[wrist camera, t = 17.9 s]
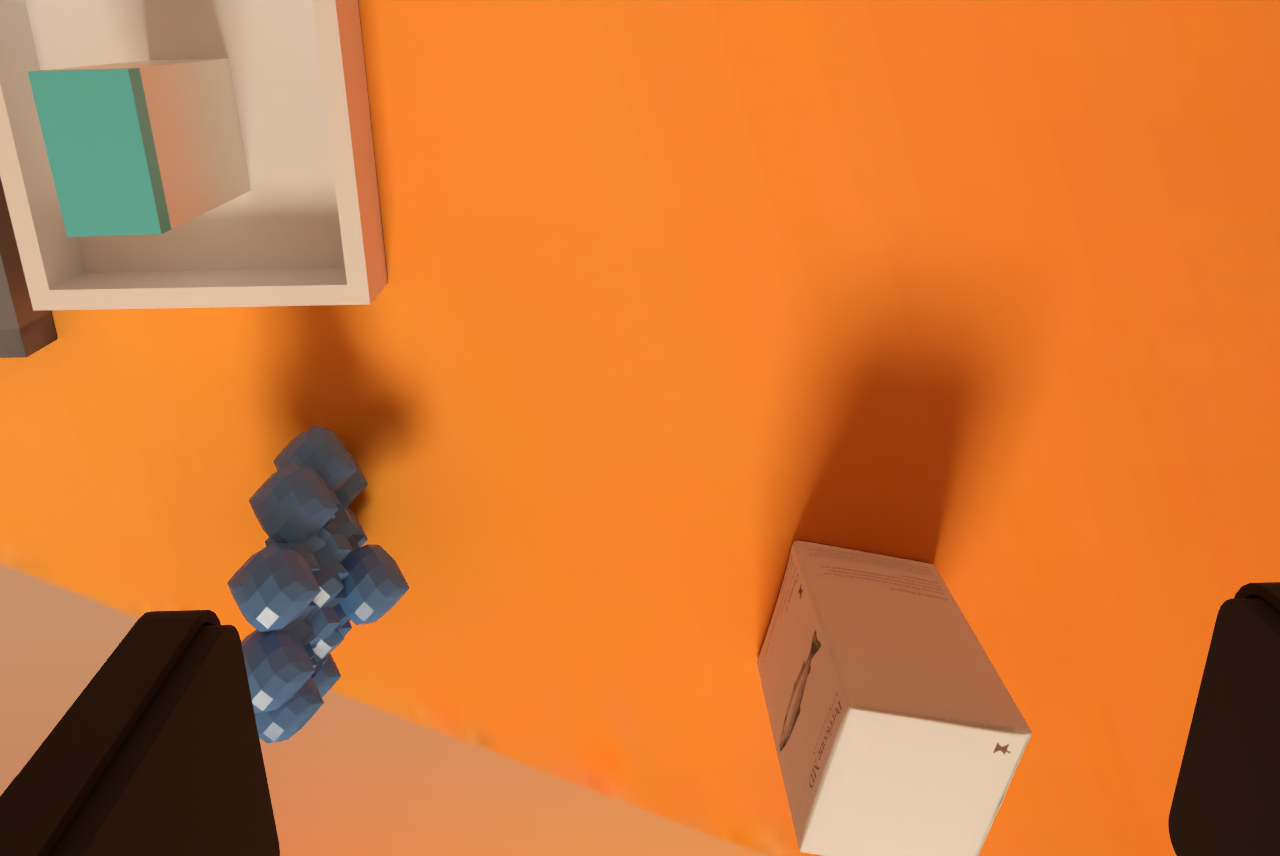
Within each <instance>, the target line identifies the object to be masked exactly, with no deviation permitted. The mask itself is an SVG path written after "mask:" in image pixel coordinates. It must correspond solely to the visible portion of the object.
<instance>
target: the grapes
mask: <svg viewBox="0 0 1280 856" xmlns="http://www.w3.org/2000/svg"><path fill="white" fill-rule="evenodd" d="M274 464H275V466H276V468H277V470H278V472H276V473H274V474H273V475H271V477H270V478H269V479H268V480H267V481H266V482H265V483H264V484H263V485H262V486H261V487H260V488H259V489H258V490H257V491H256V493H255V494H254V495H253V496H252V497H251V498H250V500H249V502H250V504H251V506H252V509H253V511H254V513H255V515H256V517H257V519H258V521H259V523H260V525H261V526H262V528H263V530H264V531H265V532H266V533H267V535H268V536H269V538H268V539H267V540H266V541H265V543H266V547H265V548H263V549H262V550H260V551H259V552H257V553H255V554H254V555H252V556H251V557H250V558H249V559H248V560H247V561H246V563H245V564H244V565H243V566H242V567H241V568H240V569H239V570H238V571H237V572H236V573H235V575H234V576H233V577H232V578H231V579H230V580H229V582H228V585H229V588H230V590H231V593H232V595H233V598H234V599H235V601H236V603H237V605H238V607H239V609H240V611H241V613H242V614H243V616H244V617H245V618H246V620H247V621H248V622H249V623H250V624H251V625H252V626H254V627H255V628H256V629H257V630H255V631H254V632H252V633H251V634H250V635H248V636H247V637H246V638H245V639H244V640H243V641H242V642H241V646H242V651H243V656H244V661H245V667H246V672H247V677H248V683H249V688H250V693H251V698H252V704H253V709H254V714H255V720H256V725H257V730H258V735H259V738H260V739H262V740H263V741H265V742H266V743H272V742H277V741H283V740H287V739H289V738H290V737H291V736H292V735H294V734H295V733H296V732H297V731H299V730H300V729H301V728H302V727H303V726H304V725H305V724H306V723H307V722H308V720H309V719H310V718H311V717H312V716H313V715H314V714H315V713H316V711H317V710H318V709H319V708H320V707H321V706H322V704H323V703H324V702H323V700H322V697H323V696H324V695H325V694H326V693H327V692H328V691H329V689H330V688H331V687H332V686H333V685H334V684H335V682H336V681H337V680H338V679H339V678H340V677H341V675H340V673H339V671H338V668H337V666H336V664H335V662H334V660H333V658H332V656H331V654H330V652H331V651H333V650H334V649H335V648H336V647H337V646H338V645H339V644H340V643H341V642H342V640H343V639H344V636H345V635H346V634H347V633H348V632H349V630H350V629H351V628H352V627H351V624H350V622H349V621H350V620H352V621H353V622H354V623H355V624H356V625H358V624H369V623H372V622H375V621H377V620H378V619H379V618H381V617H382V616H383V615H385V614H386V613H387V612H388V611H389V610H390V609H391V608H392V607H393V606H394V605H395V604H396V603H397V602H398V600H399V599H400V598H401V597H402V596H403V595H404V593H405V592H406V591H407V590H408V589H409V586H408V584H407V582H406V581H405V579H404V577H403V575H402V573H401V571H400V569H399V567H398V565H397V563H396V561H395V560H394V559H393V558H392V557H391V556H390V555H389V554H388V553H387V552H386V551H385V550H384V549H383V548H382V547H380V546H379V545H365V546H363V547H361V546H362V545H363V544H364V543H365V542H366V541H367V537H366V535H365V533H364V531H363V529H362V527H361V525H360V523H359V521H358V519H357V518H356V516H355V514H354V513H353V512H352V511H351V510H350V509H349V508H348V506H349V505H350V504H351V502H352V501H353V500H354V499H355V498H356V497H357V496H358V495H359V494H360V492H361V491H362V490H363V489H364V488H365V487H366V486H367V482H366V480H365V478H364V476H363V474H362V472H361V470H360V468H359V466H358V464H357V463H356V461H355V459H354V458H353V457H352V456H351V455H350V454H349V453H348V451H347V449H346V447H345V445H344V443H343V442H342V441H341V440H340V439H339V438H338V437H337V436H336V435H335V434H334V433H333V432H332V431H331V430H329V429H328V428H326V427H319V426H314V427H312V428H310V429H309V430H307V431H305V432H303V433H301V434H300V435H298V436H297V437H295V438H294V439H293V440H292V441H291V442H290V443H289V444H288V445H287V446H286V447H285V448H284V449H283V451H282V452H281V453H280V454H279V455H278V456H277V458H276V459H275V460H274ZM360 547H361V548H360Z"/></svg>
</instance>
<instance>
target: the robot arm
mask: <svg viewBox="0 0 1280 856" xmlns="http://www.w3.org/2000/svg"><path fill="white" fill-rule="evenodd" d="M1169 834H1170V838H1171V843H1172V845H1173V848H1174V851H1175V853H1176V855H1177V856H1280V582H1275V583H1249V584H1247V585H1244V586H1242V587H1241V588H1240V590H1239V591H1238V592H1237V593H1236V595H1235V597H1234V599H1229V600H1227V601H1225V602H1224V603H1223V604H1222V606H1221V607H1220V610H1219V612H1218V615H1217V619H1216V623H1215V627H1214V632H1213V636H1212V640H1211V644H1210V648H1209V652H1208V657H1207V661H1206V665H1205V669H1204V673H1203V677H1202V681H1201V686H1200V690H1199V694H1198V698H1197V702H1196V706H1195V710H1194V715H1193V719H1192V723H1191V727H1190V731H1189V735H1188V739H1187V744H1186V748H1185V752H1184V756H1183V760H1182V764H1181V768H1180V773H1179V777H1178V781H1177V785H1176V789H1175V793H1174V797H1173V802H1172V806H1171V810H1170V814H1169ZM0 856H280V850H279V841H278V836H277V831H276V825H275V820H274V815H273V810H272V804H271V799H270V794H269V789H268V783H267V778H266V772H265V767H264V762H263V757H262V752H261V746H260V741H259V735H258V730H257V725H256V720H255V714H254V709H253V704H252V698H251V693H250V688H249V683H248V677H247V672H246V667H245V661H244V656H243V651H242V646H241V640H240V637H239V633H238V631H237V629H236V628H235V627H234V626H232V625H221V624H220V621H219V619H218V617H217V616H216V614H215V613H214V612H212V611H210V610H193V611H154V612H148V613H145V614H144V615H143V616H142V617H140V618H139V619H138V621H137V622H136V623H135V625H134V626H133V627H132V629H131V630H130V631H129V632H128V634H127V635H126V636H125V638H124V639H123V640H122V641H121V643H120V644H119V645H118V647H117V648H116V649H115V650H114V652H113V653H112V654H111V656H110V657H109V658H108V659H107V661H106V662H105V663H104V665H103V666H102V667H101V669H100V670H99V671H98V672H97V674H96V675H95V676H94V678H93V679H92V680H91V681H90V683H89V684H88V685H87V687H86V688H85V689H84V690H83V692H82V693H81V694H80V696H79V697H78V698H77V699H76V701H75V702H74V703H73V705H72V706H71V707H70V708H69V710H68V711H67V712H66V714H65V715H64V716H63V717H62V719H61V720H60V721H59V723H58V724H57V725H56V727H55V728H54V729H53V730H52V732H51V733H50V734H49V736H48V737H47V738H46V739H45V741H44V742H43V743H42V745H41V746H40V747H39V749H38V750H37V751H36V752H35V754H34V755H33V756H32V758H31V759H30V760H29V761H28V763H27V764H26V765H25V767H24V768H23V769H22V770H21V772H20V773H19V774H18V775H17V776H16V777H15V778H14V780H13V781H12V782H11V784H10V785H9V786H8V788H7V789H6V790H5V792H4V793H3V794H2V795H1V796H0Z"/></svg>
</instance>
